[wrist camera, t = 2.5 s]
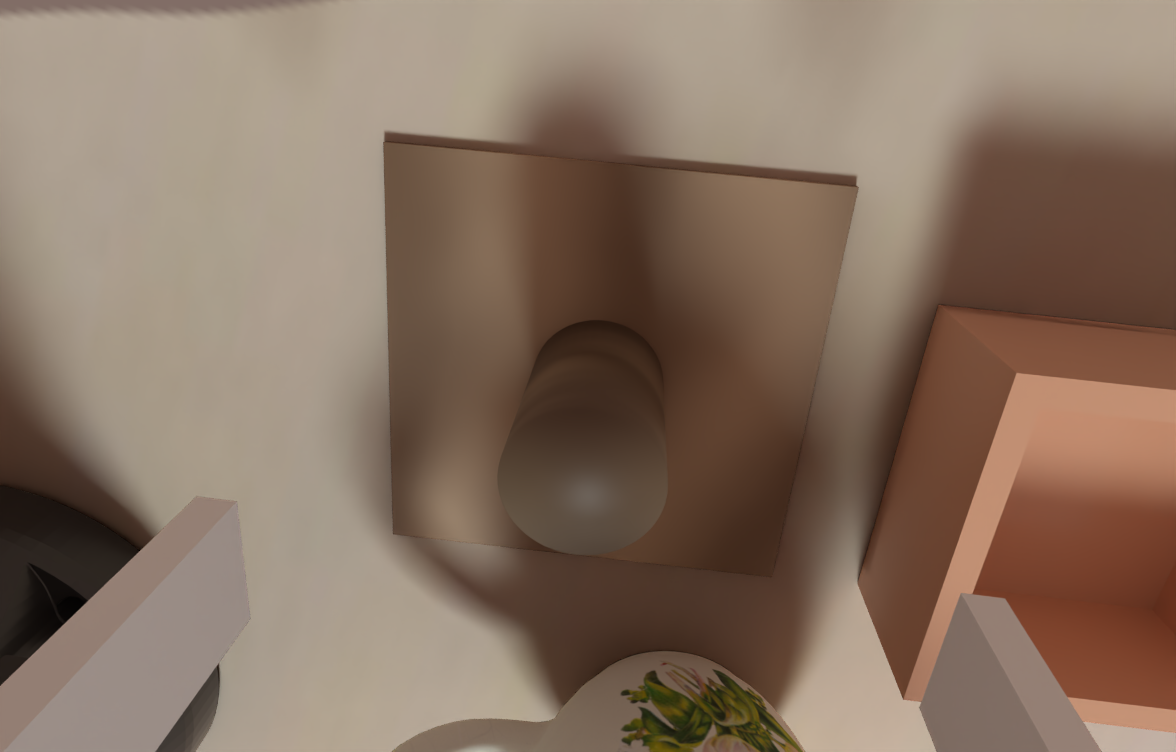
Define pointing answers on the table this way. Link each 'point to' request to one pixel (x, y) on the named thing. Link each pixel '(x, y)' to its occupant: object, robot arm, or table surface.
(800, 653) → the table surface
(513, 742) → the pitcher
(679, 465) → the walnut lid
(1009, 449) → the terracotta dish
